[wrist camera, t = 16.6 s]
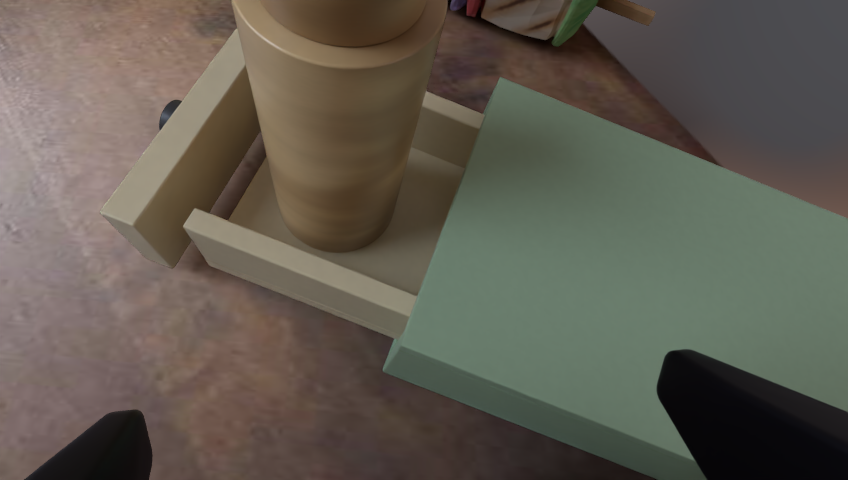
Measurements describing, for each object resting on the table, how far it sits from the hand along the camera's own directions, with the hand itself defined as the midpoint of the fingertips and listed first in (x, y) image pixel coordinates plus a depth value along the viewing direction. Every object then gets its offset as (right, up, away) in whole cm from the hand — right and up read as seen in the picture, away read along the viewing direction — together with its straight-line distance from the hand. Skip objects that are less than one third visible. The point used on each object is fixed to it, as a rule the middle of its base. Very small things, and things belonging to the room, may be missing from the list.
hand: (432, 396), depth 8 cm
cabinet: (+7, -1, +14) cm, 16 cm away
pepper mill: (-4, +4, +12) cm, 13 cm away
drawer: (-3, +4, +13) cm, 14 cm away
